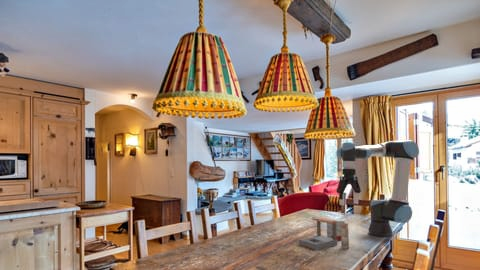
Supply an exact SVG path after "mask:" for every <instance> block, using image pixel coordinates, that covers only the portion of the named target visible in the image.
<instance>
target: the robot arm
mask: <svg viewBox="0 0 480 270" xmlns="http://www.w3.org/2000/svg"><path fill="white" fill-rule="evenodd" d="M419 153H420V149H419V146H418V144H417V142H415V141H414V140H411V139H400V140H389V141H385V142H379V143H376V144H372V145H370V144H369V145H360V146H359V145H358V146H356V143H355V142H348V141H347V142H343V143H342V145H341V147H339V148H337V150H336V156H337V158H338V159H341V160H342V161H341V162H342V163H341V165H342V168H341V173H342V175H343V176H341V175H340V176H339V181H338V186H337V188H336V193H337V194H338V199H339V206H345V194H344V192H345V191H346V188H347V187H348V185H350V186H351V188H352V189H353V204H356V205H359V194H360V193H361V187H360V183H359V179H358V176H357V175H356V172H357V171H356V170H357V169H356V160H368V159H369V158H371V157H379V158H392V159H393V160H394V161H395V169H394V177H393V182H392V183H393V185H392V193H391V197H390V198H389V199H375V200H374V199H373V200H371V201H370V204H369V205H370V206H369V211H370V224H369V227H368V230H367V231H368V234H369V235H370V236H374V237H381V238H383V237H384V238H390V237H393V236H394V231H393V229H392V227H391V224H390V222H393V223H398V224H407V223H408V222H410V220H411V219H412V217H413V216H412V215H413V209H412V207H411V206H410V202H409V201H408V200H407V199H408V189H409V181H410V172H411V163H413V162H414V160H415V158H417V157H418V156H419V155H420V154H419Z"/></svg>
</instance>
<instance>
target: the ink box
mask: <svg viewBox="0 0 480 270" xmlns="http://www.w3.org/2000/svg"><path fill="white" fill-rule="evenodd" d="M330 219H331V220H336V221H337V223H336V233H337V241H341V223H346V221H345V220H343V219H339V218H330ZM326 237H328V238H332V239H333V230H332V224H329V223H326Z"/></svg>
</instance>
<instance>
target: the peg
mask: <svg viewBox="0 0 480 270" xmlns="http://www.w3.org/2000/svg"><path fill="white" fill-rule="evenodd" d="M349 236H350V235H349V223H348V222H345V223H341V240H340V241H341V249H342V250H349V249H350V246H349V245H350V239H349V238H350V237H349Z"/></svg>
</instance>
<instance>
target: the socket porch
mask: <svg viewBox="0 0 480 270" xmlns="http://www.w3.org/2000/svg"><path fill="white" fill-rule="evenodd" d="M331 219H332V218H325V217H319V216H318V217H312V221H315V222H316V235H313V236H308V237H304V238H299V239H298V245H299V246H302V247H305V248H309V249H312V250H316V251H319V250H323V249H326V248H331V247H336V246H338V240H337V233H336V223H337V221H336V220H331ZM322 223H324V224H327V223H329V224H332V230H333V239H332V238H328V237H327V236H325V235H322V234H321V233H322V232H321V231H322V230H321V227H322V225H321V224H322Z"/></svg>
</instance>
